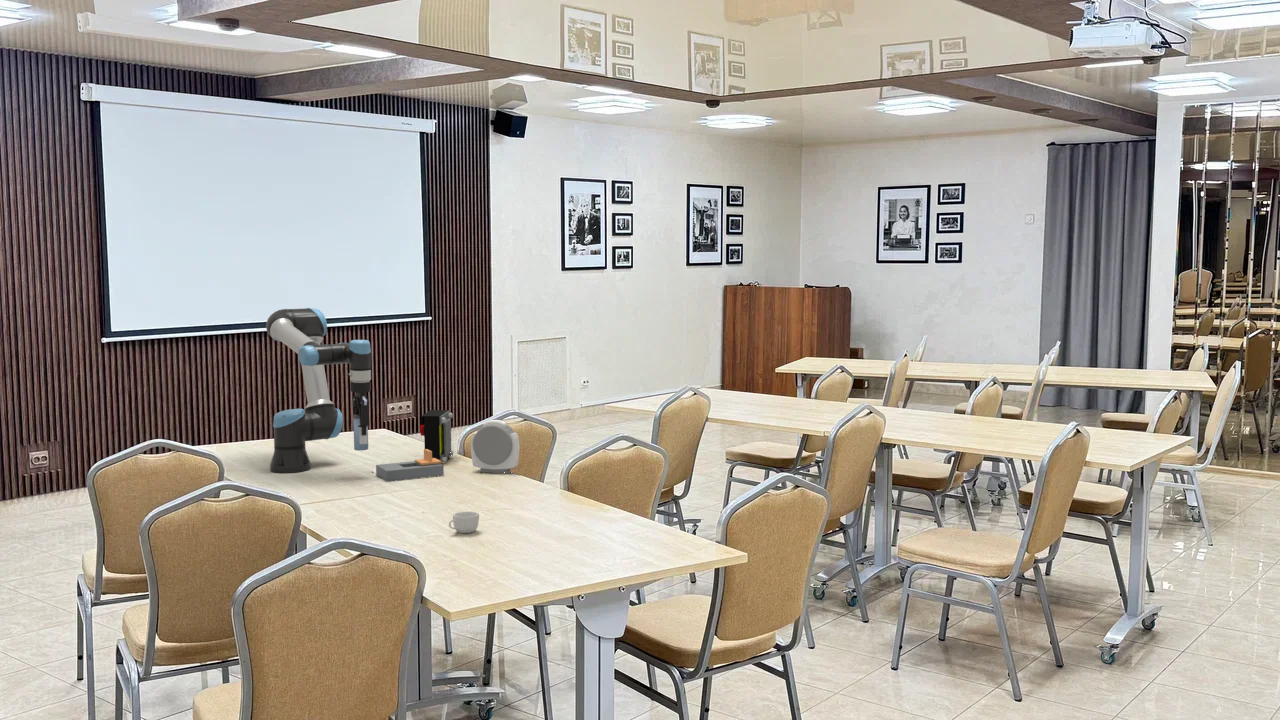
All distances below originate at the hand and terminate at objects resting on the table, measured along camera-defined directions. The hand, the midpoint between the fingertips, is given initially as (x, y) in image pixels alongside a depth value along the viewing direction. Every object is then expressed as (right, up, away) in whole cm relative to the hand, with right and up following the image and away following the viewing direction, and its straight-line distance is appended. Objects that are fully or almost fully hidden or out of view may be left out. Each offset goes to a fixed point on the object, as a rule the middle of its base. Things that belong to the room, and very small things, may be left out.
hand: (361, 442), depth 395 cm
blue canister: (0, -3, 0) cm, 3 cm away
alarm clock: (+49, -13, +13) cm, 52 cm away
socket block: (+17, -13, +6) cm, 22 cm away
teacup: (+52, -21, -80) cm, 98 cm away
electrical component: (+22, -11, +35) cm, 43 cm away
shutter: (+23, -9, +9) cm, 27 cm away
